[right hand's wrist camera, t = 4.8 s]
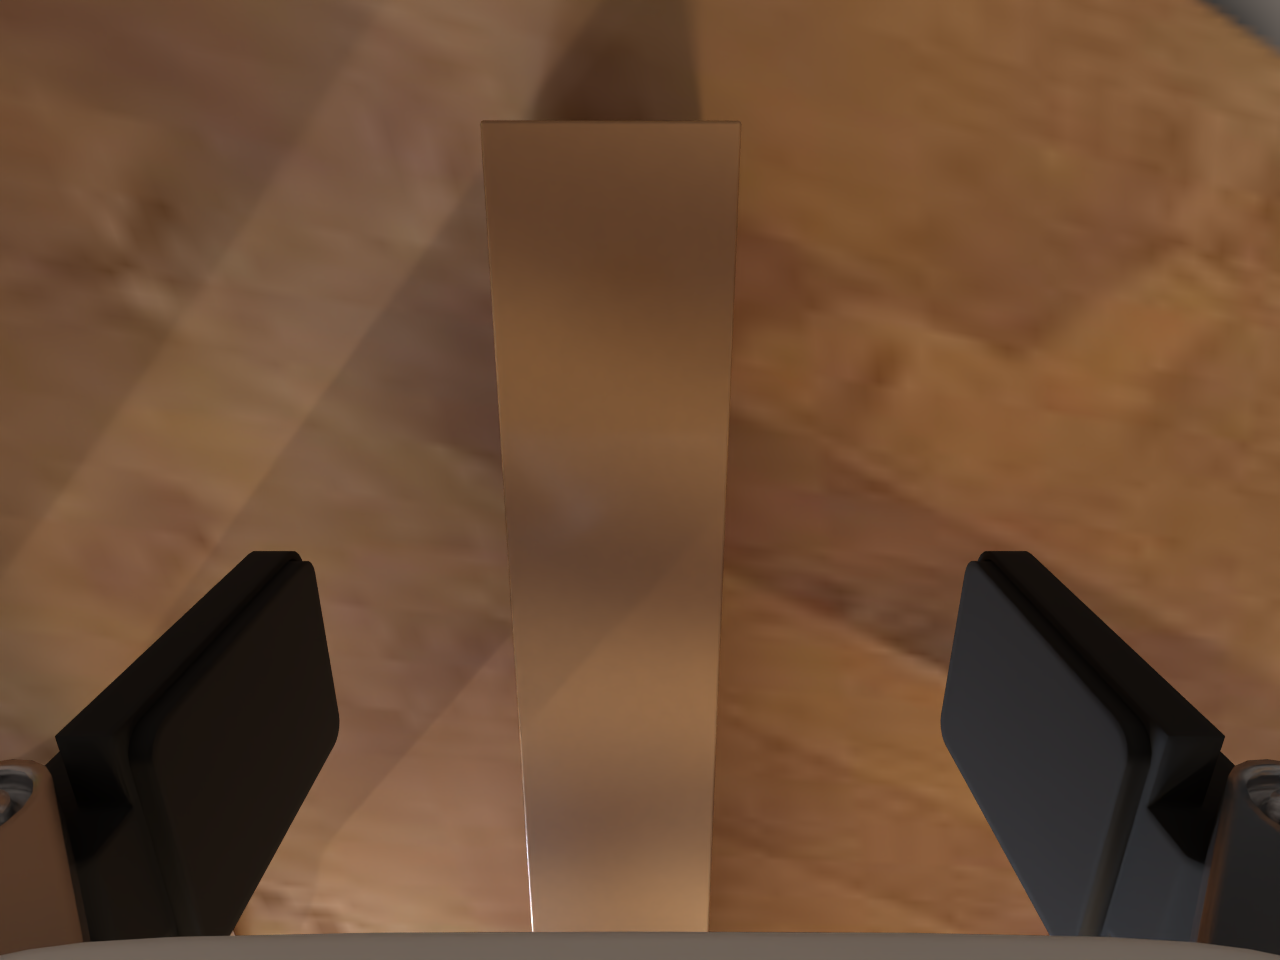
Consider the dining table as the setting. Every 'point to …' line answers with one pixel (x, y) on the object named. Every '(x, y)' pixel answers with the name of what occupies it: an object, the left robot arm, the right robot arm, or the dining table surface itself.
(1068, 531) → the dining table surface
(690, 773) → the post
